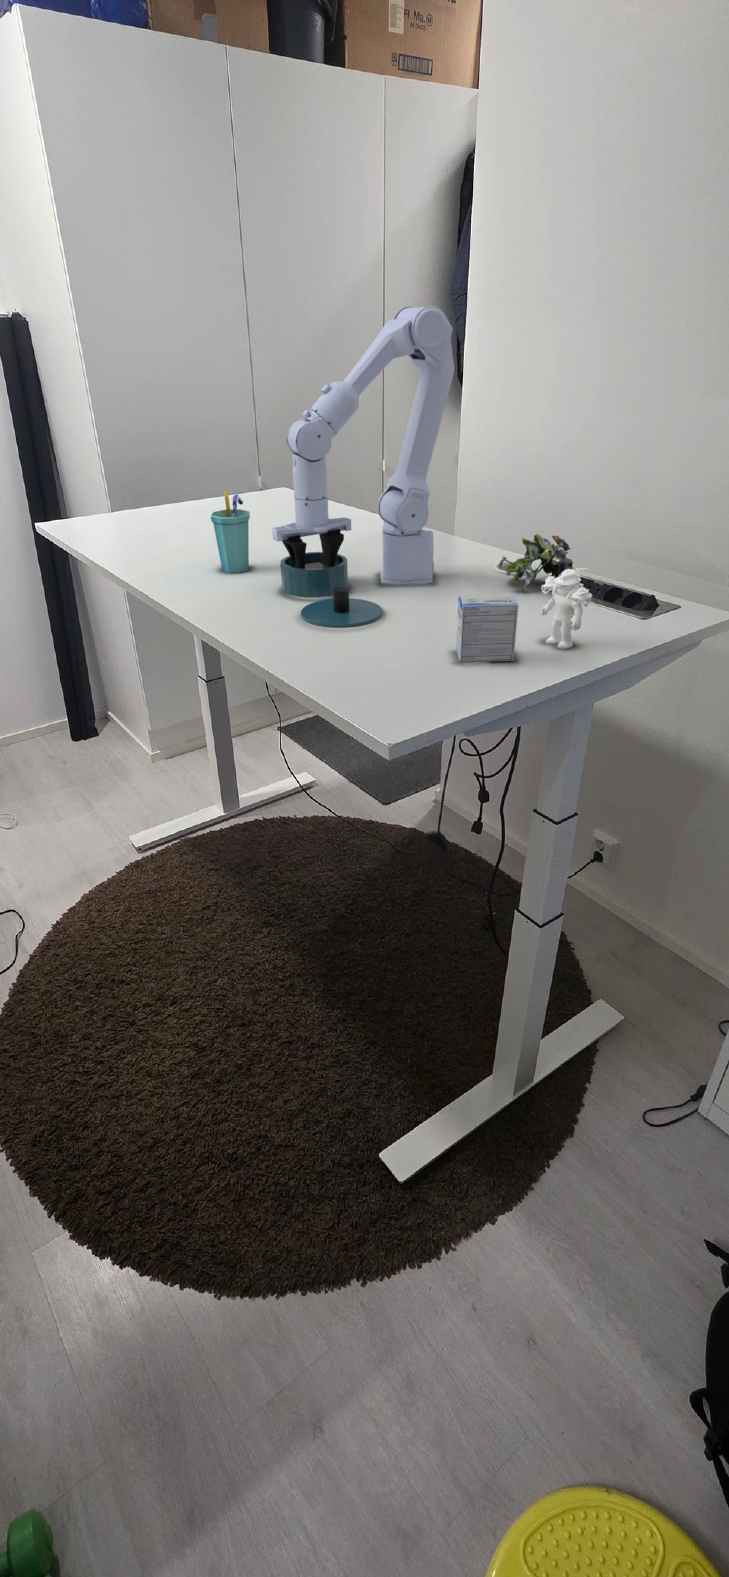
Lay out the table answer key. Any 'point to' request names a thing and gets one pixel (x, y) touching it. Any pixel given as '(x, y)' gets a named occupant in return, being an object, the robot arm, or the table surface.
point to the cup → (232, 536)
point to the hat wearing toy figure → (565, 605)
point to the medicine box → (486, 627)
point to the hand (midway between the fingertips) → (314, 576)
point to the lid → (341, 611)
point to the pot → (313, 576)
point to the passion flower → (549, 556)
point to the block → (315, 565)
